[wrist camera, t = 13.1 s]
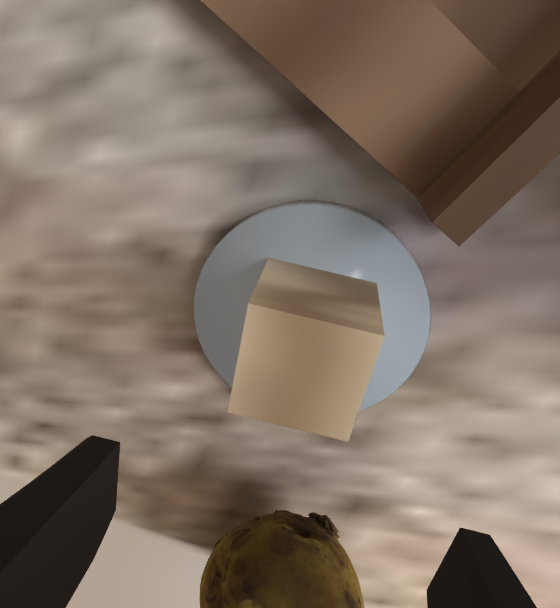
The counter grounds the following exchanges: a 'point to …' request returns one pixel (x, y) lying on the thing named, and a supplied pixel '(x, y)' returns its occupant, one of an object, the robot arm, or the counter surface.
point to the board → (425, 88)
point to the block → (307, 349)
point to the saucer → (324, 256)
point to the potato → (281, 566)
